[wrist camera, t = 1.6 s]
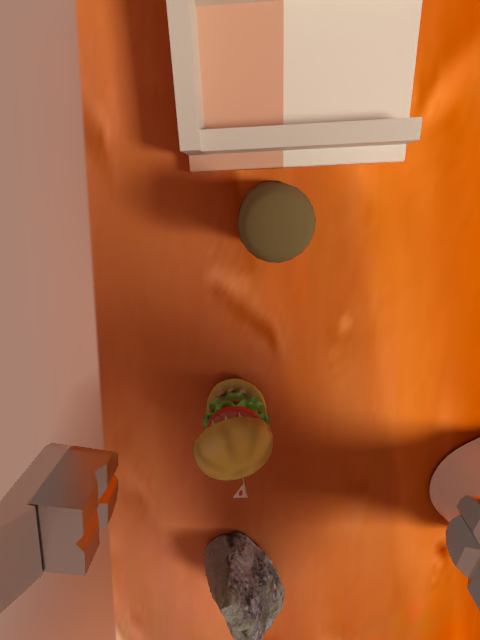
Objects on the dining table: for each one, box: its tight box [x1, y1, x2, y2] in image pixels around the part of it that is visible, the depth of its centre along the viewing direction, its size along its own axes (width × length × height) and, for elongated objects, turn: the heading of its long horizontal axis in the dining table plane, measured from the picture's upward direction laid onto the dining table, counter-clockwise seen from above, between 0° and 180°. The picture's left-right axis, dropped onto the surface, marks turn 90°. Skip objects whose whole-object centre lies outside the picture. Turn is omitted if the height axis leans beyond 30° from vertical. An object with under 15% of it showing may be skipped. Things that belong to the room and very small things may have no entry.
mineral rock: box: [204, 532, 285, 640], centre depth 44 cm, size 13×11×10 cm
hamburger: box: [192, 378, 273, 498], centre depth 34 cm, size 8×7×12 cm
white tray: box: [166, 0, 422, 172], centre depth 26 cm, size 18×14×5 cm
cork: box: [238, 181, 316, 263], centre depth 27 cm, size 6×6×11 cm
